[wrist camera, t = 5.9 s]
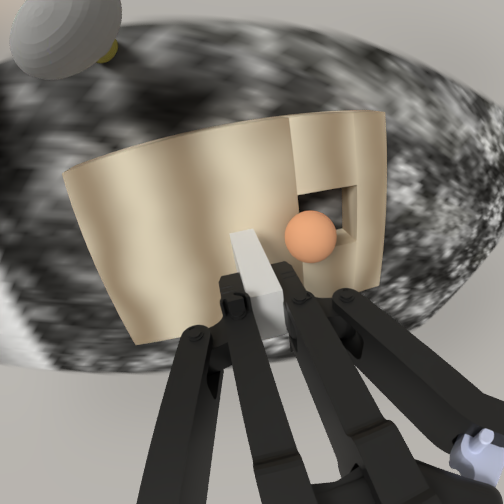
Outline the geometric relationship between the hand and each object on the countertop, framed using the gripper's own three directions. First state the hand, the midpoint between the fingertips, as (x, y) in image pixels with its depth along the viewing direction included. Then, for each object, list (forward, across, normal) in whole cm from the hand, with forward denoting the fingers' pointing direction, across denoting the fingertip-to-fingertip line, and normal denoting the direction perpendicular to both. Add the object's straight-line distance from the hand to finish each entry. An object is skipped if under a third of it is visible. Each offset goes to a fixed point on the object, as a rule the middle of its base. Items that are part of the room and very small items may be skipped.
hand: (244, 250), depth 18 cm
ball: (0, +4, 0) cm, 4 cm away
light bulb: (+4, -6, +15) cm, 17 cm away
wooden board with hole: (+4, 0, 0) cm, 4 cm away
